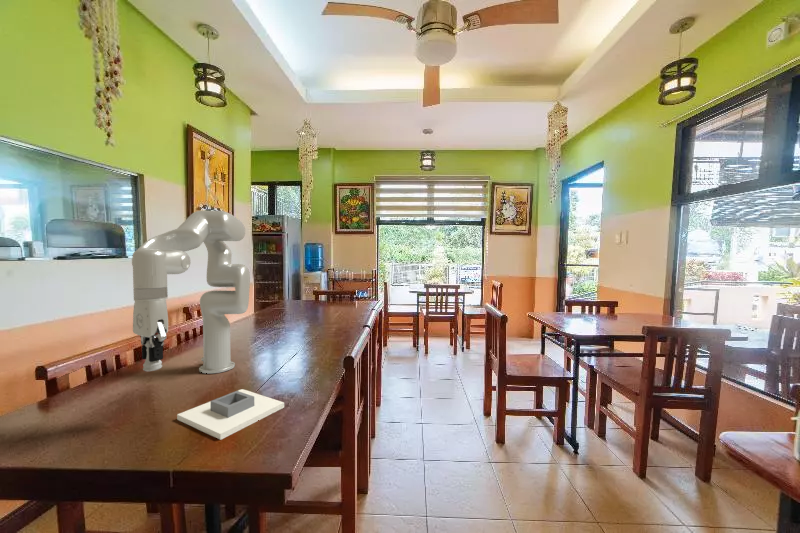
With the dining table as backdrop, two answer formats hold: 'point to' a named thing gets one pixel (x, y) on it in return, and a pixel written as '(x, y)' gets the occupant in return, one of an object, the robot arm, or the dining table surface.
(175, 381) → the dining table surface
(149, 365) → the rook chess piece
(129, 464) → the dining table surface
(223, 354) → the robot arm
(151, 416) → the dining table surface
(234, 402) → the socket board
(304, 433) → the dining table surface
